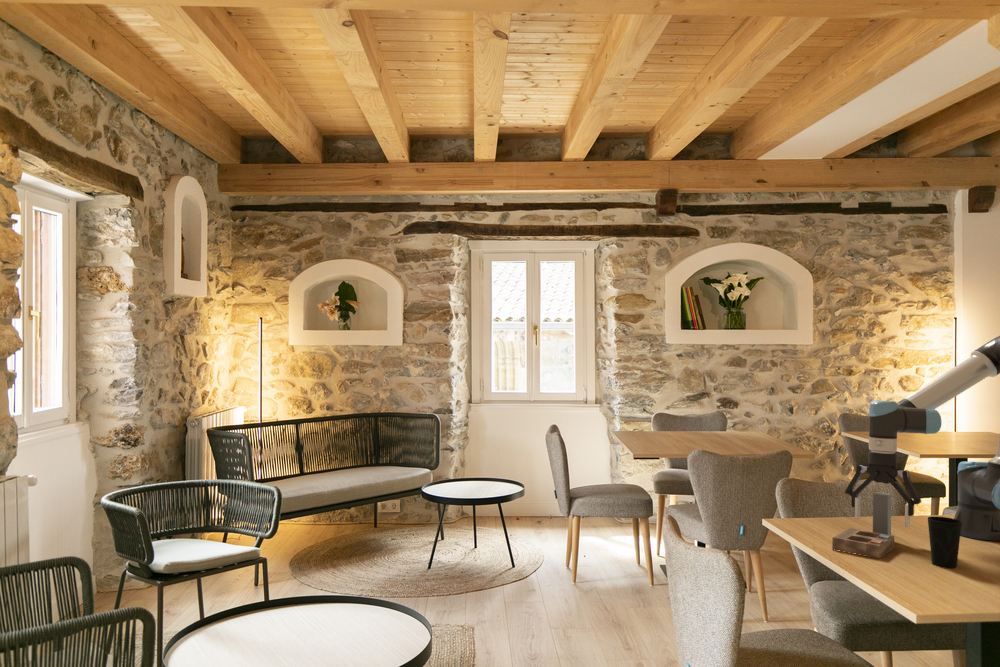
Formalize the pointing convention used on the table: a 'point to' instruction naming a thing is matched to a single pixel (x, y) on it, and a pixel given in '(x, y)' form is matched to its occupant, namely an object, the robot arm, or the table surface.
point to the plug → (882, 513)
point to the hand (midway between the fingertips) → (881, 522)
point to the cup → (944, 541)
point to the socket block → (863, 542)
